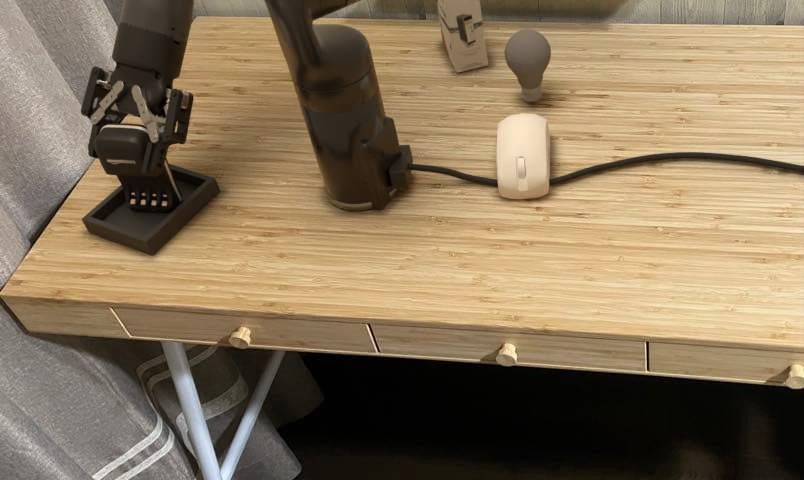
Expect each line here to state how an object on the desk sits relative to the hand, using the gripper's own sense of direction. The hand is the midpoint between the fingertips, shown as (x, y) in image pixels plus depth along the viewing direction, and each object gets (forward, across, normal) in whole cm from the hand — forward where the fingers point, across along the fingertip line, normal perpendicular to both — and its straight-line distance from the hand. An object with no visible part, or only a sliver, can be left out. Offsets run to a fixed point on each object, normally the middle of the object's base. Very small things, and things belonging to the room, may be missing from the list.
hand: (123, 166), depth 118 cm
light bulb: (-22, +33, +34) cm, 52 cm away
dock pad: (+5, 0, +7) cm, 8 cm away
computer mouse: (-13, +39, +25) cm, 48 cm away
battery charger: (+4, 0, +6) cm, 8 cm away
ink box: (-26, +19, +38) cm, 50 cm away
